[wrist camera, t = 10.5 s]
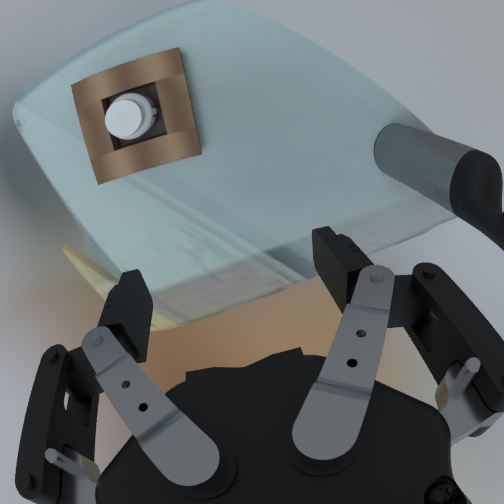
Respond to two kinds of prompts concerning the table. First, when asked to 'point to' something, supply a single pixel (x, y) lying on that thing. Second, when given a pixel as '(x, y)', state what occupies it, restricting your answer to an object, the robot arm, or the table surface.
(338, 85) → the table surface
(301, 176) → the table surface
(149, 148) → the well block
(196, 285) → the table surface
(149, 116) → the pill bottle
